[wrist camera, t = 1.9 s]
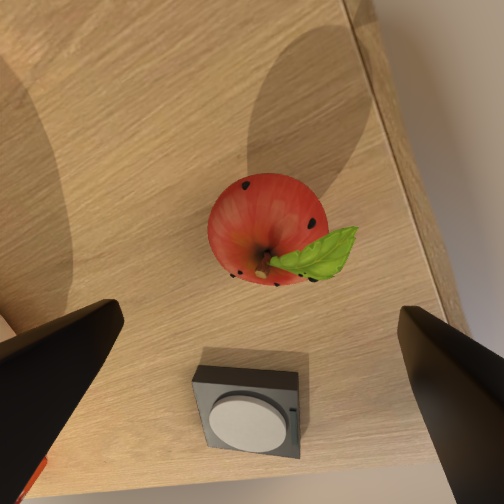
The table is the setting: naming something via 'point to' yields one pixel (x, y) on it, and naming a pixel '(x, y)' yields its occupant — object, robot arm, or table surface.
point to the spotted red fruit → (275, 232)
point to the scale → (249, 409)
